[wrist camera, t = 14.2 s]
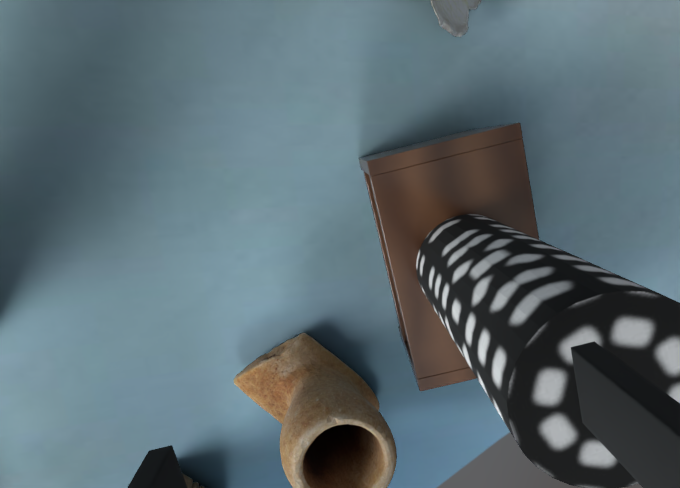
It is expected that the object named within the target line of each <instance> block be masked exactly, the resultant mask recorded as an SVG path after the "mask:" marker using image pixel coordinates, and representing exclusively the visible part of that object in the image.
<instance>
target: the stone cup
mask: <svg viewBox="0 0 680 488" xmlns="http://www.w3.org/2000/svg"><path fill="white" fill-rule="evenodd" d="M234 383H235V385H236V386H238V387H239V388H240V389H241V390H242V391H243V392H244V393H245V394H246V395H248V396H249V397H250V398H251V399H252V400H253V401H255V402H256V403H257V404H258V405H259V406H261V407H262V408H263V409H264V410H265V411H267V412H268V413H270V414H271V415H272V416H273V417H274V418H275V419H276V420H278V421H279V422H280V423H281V424H283V425H282V429H281V435H280V454H281V461H282V466H283V469H284V472H285V475H286V477H287V478H288V480H289V482H290V484H291V485H292V487H293V488H387V486H388V485H389V483H390V481H391V479H392V477H393V474H394V471H395V467H396V458H397V455H396V445H395V441H394V438H393V435H392V433H391V430H390V428H389V426H388V425H387V423H386V421H385V420H384V418H383V417H382V415H381V414H380V412H379V402H378V400H377V398H376V396H375V394H374V392H373V391H372V390H371V388H370V387H369V386H368V385H367V383H366V382H365V381H364V380H363V379H362V378H361V377H360V376H359V375H358V374H357V373H356V372H355V371H353V370H352V369H351V368H350V367H348V366H347V365H346V364H345V363H343V362H342V361H341V360H340V359H338V358H337V357H336V356H335V355H333V354H332V353H331V352H330V351H328V350H327V349H326V348H324V347H323V346H322V345H321V344H319V343H318V342H317V341H316V340H314V339H313V338H312V337H310V336H309V335H307V334H306V333H301V334H299V336H297V337H295V338H292V339H289V340H287V341H286V342H285V343H282V344H281V345H280V346H278V347H275V348H274V349H272V351H271V352H269V353H267V354H264V355H262V356H260V357H258V358H257V359H256V360H255V361H254V362H252V363H251V364H250V365H248V366H247V367H245V369H244V370H243V371H241V372H240V373H239V374H237V375H236V377H235V378H234Z"/></svg>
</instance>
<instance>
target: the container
mask: <svg viewBox="0 0 680 488" xmlns="http://www.w3.org/2000/svg"><path fill="white" fill-rule="evenodd" d="M182 474H183V473H182ZM183 477H184V479H185V482H186V485H187V488H205V487H204V486H200V487H199V483H197V482H194V483H193V479H191V478H190V477H188V476H186V475H185V474H183Z"/></svg>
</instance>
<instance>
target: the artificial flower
mask: <svg viewBox="0 0 680 488" xmlns="http://www.w3.org/2000/svg"><path fill="white" fill-rule="evenodd" d="M479 2H480V3H481V0H431V5H432V7H433V9H434V11H435V14H436V15H437V17H438V20H439V25H440V26H441V27H442V28H443V29H445V30H447V31H448V32H449V33H451V34H452V35H453V36H455V37H456V36H458V37H461V36H463V35H464V34H465V33H466V32H467V30H468V18H469V9H471V10H475V9H477V7H478V4H480V3H479Z"/></svg>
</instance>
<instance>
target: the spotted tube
mask: <svg viewBox="0 0 680 488" xmlns="http://www.w3.org/2000/svg"><path fill="white" fill-rule="evenodd" d="M416 272H417V279H418V282H419V284H420V287H421V289H422V291H423V292H424V294H425V295H426V297H427V299H428V300H429V302H430V304H431V305H432V307H433V308H434V310H435V312H436V313H437V315H438V316H439V318H440V320H441V321H442V323H443V324H444V326H445V328H446V329H447V331H448V332H449V334H450V336H451V337H452V339H453V340H454V342H455V344H456V345H457V347H458V349H459V350H460V352H461V353H462V355H463V357H464V358H465V360H466V361H467V363H468V365H469V366H470V368H471V369H472V371H473V373H474V374H475V376H476V377H477V379H478V381H479V382H480V384H481V385H482V387H483V389H484V390H485V392H486V394H487V395H488V397H489V398H490V400H491V402H492V403H493V405H494V406H495V408H496V410H497V411H498V413H499V414H500V416H501V418H502V419H503V421H504V422H505V424H506V426H507V427H508V429H509V430H510V432H511V434H512V435H513V437H514V439H515V440H516V442H517V443H518V445H519V447H520V448H521V450H522V451H523V453H524V454H525V455H526V456H527V458H528V459H529V460H530V461H531V462H532V463H533V464H534V465H535V466H536V467H537V468H539V469H540V470H542V471H543V472H545V473H546V474H548V475H549V476H551V477H552V478H554V479H557V480H559V481H562V482H564V483H567V484H569V485H573V486H578V487H583V488H621V487H627V486H632V485H635V484H638V482H637V481H636V480H635V479H634V478H633V477H632V475H631V474H630V473H629V472H628V471H627V470H626V469H625V468H624V467H623V466H622V465H621V464H620V463H619V461H618V460H617V459H616V458H615V457H614V456H613V455H612V454H611V453H610V452H609V451H608V450H607V449H606V448H605V446H604V445H603V444H602V443H601V442H600V441H599V440H598V439H597V438H596V437H595V436H594V435H593V434H592V433H591V431H590V430H589V429H588V428H587V427H586V426H585V425H584V424H583V423H582V416H581V410H580V404H579V397H578V391H577V385H576V378H575V372H574V366H573V359H572V353H571V347H574V346H578V345H582V344H586V343H590V342H596V343H597V344H599V345H600V346H601V347H603V348H604V349H606V350H607V351H608V352H610V353H611V354H612V355H614V356H615V357H617V358H618V359H619V360H621V361H622V362H624V363H625V364H626V365H628V366H629V367H630V368H632V369H633V370H635V371H636V372H637V373H639V374H640V375H642V376H643V377H644V378H646V379H647V380H648V381H650V382H651V383H653V384H654V385H655V386H657V387H658V388H660V389H661V390H662V391H664V392H665V393H666V394H668V395H669V396H671V397H672V398H673V399H675V400H676V401H677V402H679V403H680V303H679V302H676V301H674V300H672V299H670V298H668V297H666V296H663V295H661V294H659V293H657V292H655V291H652V290H650V289H648V288H646V287H643V286H641V285H639V284H637V283H634V282H632V281H630V280H628V279H625V278H623V277H621V276H619V275H616V274H614V273H612V272H610V271H607V270H605V269H603V268H601V267H599V266H596V265H594V264H592V263H590V262H587V261H585V260H583V259H581V258H578V257H576V256H574V255H572V254H569V253H567V252H565V251H563V250H560V249H558V248H556V247H554V246H551V245H549V244H547V243H545V242H543V241H540V240H538V239H536V238H534V237H531V236H529V235H527V234H525V233H522V232H520V231H518V230H516V229H513V228H511V227H509V226H507V225H504V224H502V223H500V222H498V221H495V220H493V219H491V218H489V217H486V216H482V215H476V214H465V215H459V216H455V217H453V218H450V219H447V220H445V221H444V222H442V223H440V224H439V225H437V226H436V227H435V228H434V229H433V230H432V231H431V232H430V233H429V234H428V235H427V237H426V238H425V239H424V241H423V243H422V245H421V247H420V249H419V253H418V256H417V263H416Z"/></svg>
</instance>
